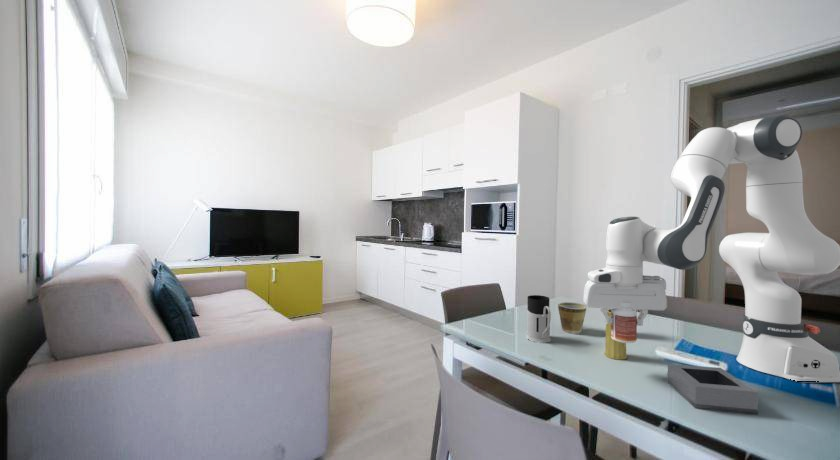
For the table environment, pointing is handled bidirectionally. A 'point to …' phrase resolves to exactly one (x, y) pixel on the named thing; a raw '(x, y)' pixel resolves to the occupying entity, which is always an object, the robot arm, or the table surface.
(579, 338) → the table surface
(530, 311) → the glass holder
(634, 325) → the pill bottle
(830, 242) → the robot arm
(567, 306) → the ceramic cup
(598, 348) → the table surface
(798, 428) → the table surface
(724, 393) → the metal socket
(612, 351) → the vase
